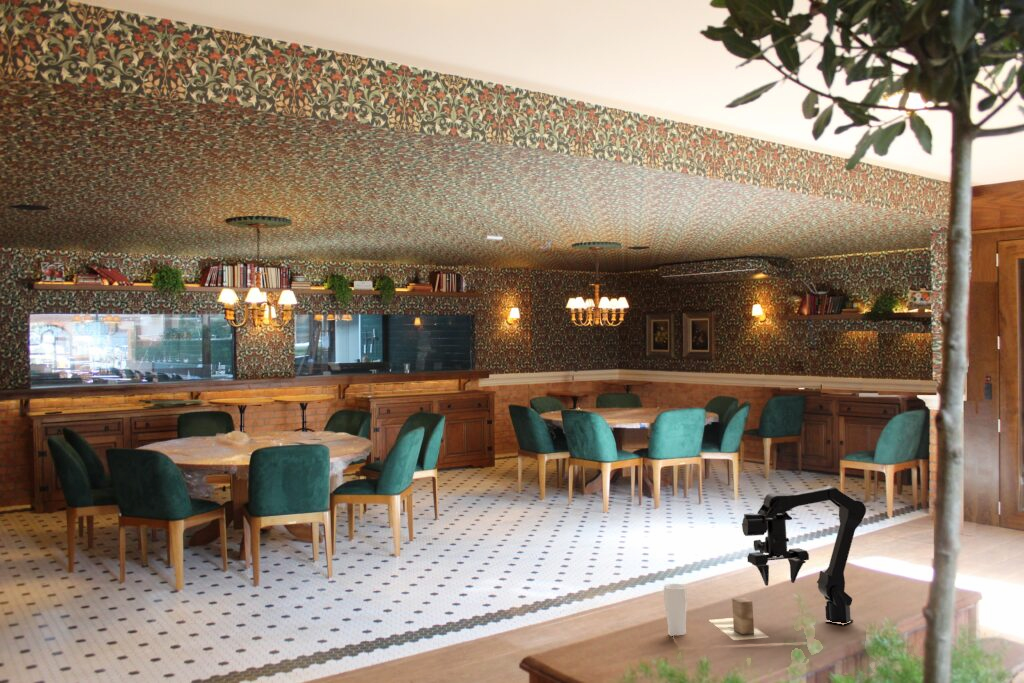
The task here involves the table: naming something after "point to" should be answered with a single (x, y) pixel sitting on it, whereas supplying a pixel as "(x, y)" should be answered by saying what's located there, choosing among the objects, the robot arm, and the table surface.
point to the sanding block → (743, 616)
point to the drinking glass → (675, 608)
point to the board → (728, 629)
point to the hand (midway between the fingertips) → (779, 584)
